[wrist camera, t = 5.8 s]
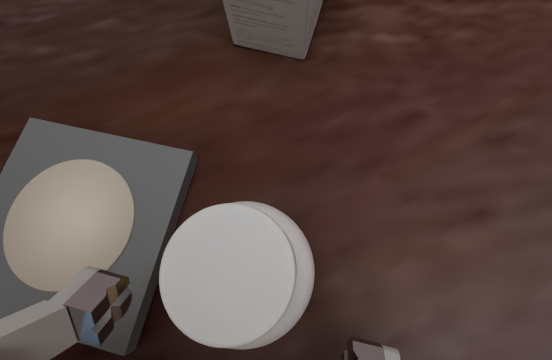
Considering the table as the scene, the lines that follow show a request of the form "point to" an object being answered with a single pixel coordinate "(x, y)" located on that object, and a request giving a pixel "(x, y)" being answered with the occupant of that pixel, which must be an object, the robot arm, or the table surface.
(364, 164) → the table surface
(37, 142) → the board
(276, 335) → the supplement bottle
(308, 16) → the skincare box
